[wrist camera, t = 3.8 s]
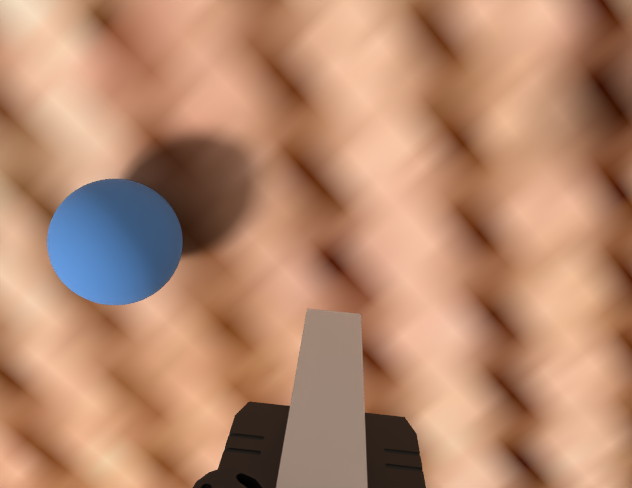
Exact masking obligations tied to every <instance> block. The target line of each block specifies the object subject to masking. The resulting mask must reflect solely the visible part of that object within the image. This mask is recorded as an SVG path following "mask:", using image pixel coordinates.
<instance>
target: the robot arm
mask: <svg viewBox="0 0 632 488" xmlns="http://www.w3.org/2000/svg"><path fill="white" fill-rule="evenodd" d="M419 454H420V452H419V446H418V440H417V434H416V433H415V431H414V430H413V428H412V427H411V426H410V424H409V423H408V421H407V420H406V419H405V417H398V416H389V415H380V414H371V413H365V408H364V382H363V356H362V330H361V314H356V313H346V312H336V311H327V310H317V309H307V312H306V318H305V324H304V329H303V335H302V341H301V347H300V352H299V358H298V364H297V370H296V375H295V381H294V387H293V393H292V398H291V404H290V406H284V405H275V404H266V403H257V402H248V403H247V404H246V405H245V406H244V407H243V408H242V409H241V410H240V411H239V412H238V413H237V414H236V415H235V418H234V421H233V424H232V427H231V430H230V434H229V436H228V440H227V443H226V446H225V451H224V452H223V455H222V458H221V461H220V464H219V467H218V470H215V471H212V472H209V473H208V474H206V475H205V476H204V477H202V478H201V479H199V480H198V481H197V482H196V483H195V485H194V487H193V488H426V486H425V480H424V475H423V472H422V463H421V457H420V455H419Z"/></svg>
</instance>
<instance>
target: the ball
mask: <svg viewBox="0 0 632 488" xmlns="http://www.w3.org/2000/svg"><path fill="white" fill-rule="evenodd" d="M182 246H183V239H182V231H181V226H180V223H179V220H178V218H177V216H176V214H175V212H174V210H173V209H172V207H171V206H170V205H169V203H168V202H167V201H166V200H165V199H164V198H163V197H162V196H161V195H160V194H158V193H157V192H156V191H154V190H153V189H151V188H149V187H147V186H145V185H143V184H141V183H137V182H134V181H131V180H125V179H105V180H100V181H96V182H92V183H89V184H87V185H84V186H83V187H81V188H79V189H77V190H76V191H74V192H73V193H72V194H70V195H69V196H68V197H67V198H66V199H65V200H64V201H63V202H62V203H61V204H60V206H59V207H58V209H57V210H56V212H55V214H54V216H53V218H52V220H51V222H50V226H49V230H48V238H47V247H48V254H49V257H50V261H51V264H52V266H53V268H54V270H55V272H56V274H57V275H58V277H59V278H60V279H61V281H62V282H63V283H64V284H65V285H66V286H67V287H68V288H69V289H70V290H72V291H73V292H74V293H76V294H77V295H79V296H81V297H83V298H85V299H87V300H90V301H92V302H96V303H99V304H105V305H125V304H130V303H134V302H138V301H140V300H143V299H145V298H147V297H149V296H151V295H153V294H154V293H156V292H157V291H158V290H160V289H161V288H162V287H163V286H164V285H165V284H166V283H167V282H168V281H169V279H170V278H171V277H172V275H173V274H174V272H175V270H176V268H177V266H178V264H179V261H180V258H181V253H182Z"/></svg>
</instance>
